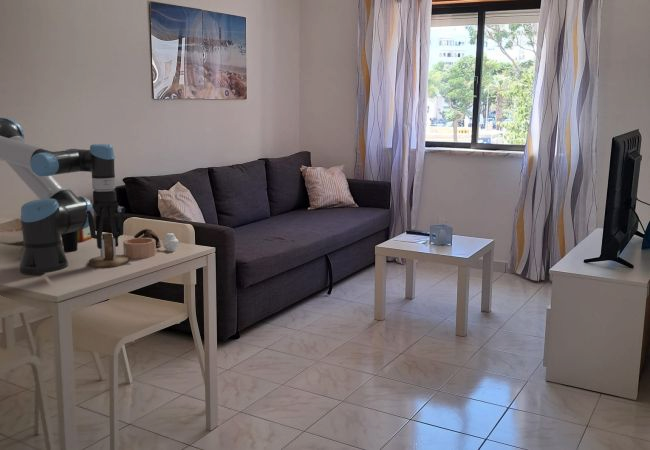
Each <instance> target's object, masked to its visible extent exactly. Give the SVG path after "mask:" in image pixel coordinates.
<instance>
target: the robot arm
mask: <svg viewBox="0 0 650 450" xmlns="http://www.w3.org/2000/svg"><path fill="white" fill-rule="evenodd" d="M23 132H24V130H23V127H22V126H21V125H20V124H19V123H18V122H17V121H16V120H14V119H12V118H6V117H0V161H4V162H5V163H6V164H7V165H8V167H10V168H11V169H12V171H14V172H15V174H16V175H17V176H18V177H19V178H20V179H21V180H22V181H23V183H25V185H26V186H27V187H28V188H29V189H30V191H32V192H33V193H34V195H35V196H36V197H37V198H38V199H33V200H31V201H28V202H25V203H23V205H22V206H21V209H20V223H21V230H22V231H21V232H22V243H23V251H22V255H21V258H20V261H19V272H20V273H21V274H25V275H34V276H35V275H38V276H39V275H46V273H52V272H57V271H62V270H64V269H67V267H69V262H68V258H67V256H66V254H65V251H64V249H63V246H62V237H61V235H62V234H66V233H70V232H74V231H80V230H82V229H85V228H87V227H88V226H89V228H90V234H91V237H92V238H91V239H94V240H96V247H97V248H98V250H100V256H101V257H102V258H105V249H104V239H102V234H103V229H104V228H103V226H104V220H105V218H106V217H107V218H108V220H109V225H110V230H111V234H112V244H113V257H116V255H117V252H116V250H117V247H118V246H119V237H121V236H123V235H124V219H125V216H124V215H125V212H126V207H124V206H120V205H119V204H118V201H117V190H116V175H115V174H116V173H115V153H114V147H113V145H112V144H109V143H97V144H96V143H94V144H90V146H89V149H80V148H79V149H78V148H68V149H65V150H58V151H50V150H48V149H44V148H42V147H37V146H35V145H32V144H29V143H26V141H25V133H23ZM77 172H86V173H87V172H89V173H91V183H92V185H91V186H92V190H93V191H92V198H93V200H92V201H91V202H93V203H92V204H91V202H90V201H89V199H88V198H87V197H85V196H77V195H76V194H75V193H74V192H73V191H72V190H71V189H70V188H64V187H63V186H62V185H61V184H60V183H59V182H58V181H57V179H55V178H54V176H55V175H56V176H57V175H63V174H70V173H77ZM116 211H117V212H118V213H117V215H118V216H117V224H116V220H115V213H116ZM94 212H95V213H96V214H97V223H96V224H97V226H95V221H94V218H95V217H94V215H95V213H94ZM95 227H96V228H95Z"/></svg>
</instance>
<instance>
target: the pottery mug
mask: <svg viewBox="0 0 650 450" xmlns="http://www.w3.org/2000/svg"><path fill="white" fill-rule="evenodd" d="M133 238H153V239H155V240H156V246H158V249H160V248H161V241H160V239H159V237H158V234H156V233H155V231H153V230H152V229H149V228H144V229H141V230H140V231H139V232H137V233H136V234H134V237H133Z"/></svg>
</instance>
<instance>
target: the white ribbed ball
mask: <svg viewBox="0 0 650 450" xmlns="http://www.w3.org/2000/svg"><path fill="white" fill-rule="evenodd" d="M161 244H162V246H163V248H164V249H165V251H166V252H174V251H176V249H177V247H178V244H179V239H177V238H176V236H175V234H174V233H172V232H168V233H166V234H165V235H164V237H163V239H162V240H161Z"/></svg>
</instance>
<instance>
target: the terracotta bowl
mask: <svg viewBox="0 0 650 450" xmlns="http://www.w3.org/2000/svg"><path fill="white" fill-rule="evenodd" d="M122 242H123V244H122V245H123V256H126V257H128V259H133V260H134V259H135V260H137V259H147V258H153V257H155V256H156V255H157V245H156V240H155V239H153V238H140V237H139V238H134V237H133V238H128V239H125V240H124V241H122Z"/></svg>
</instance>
